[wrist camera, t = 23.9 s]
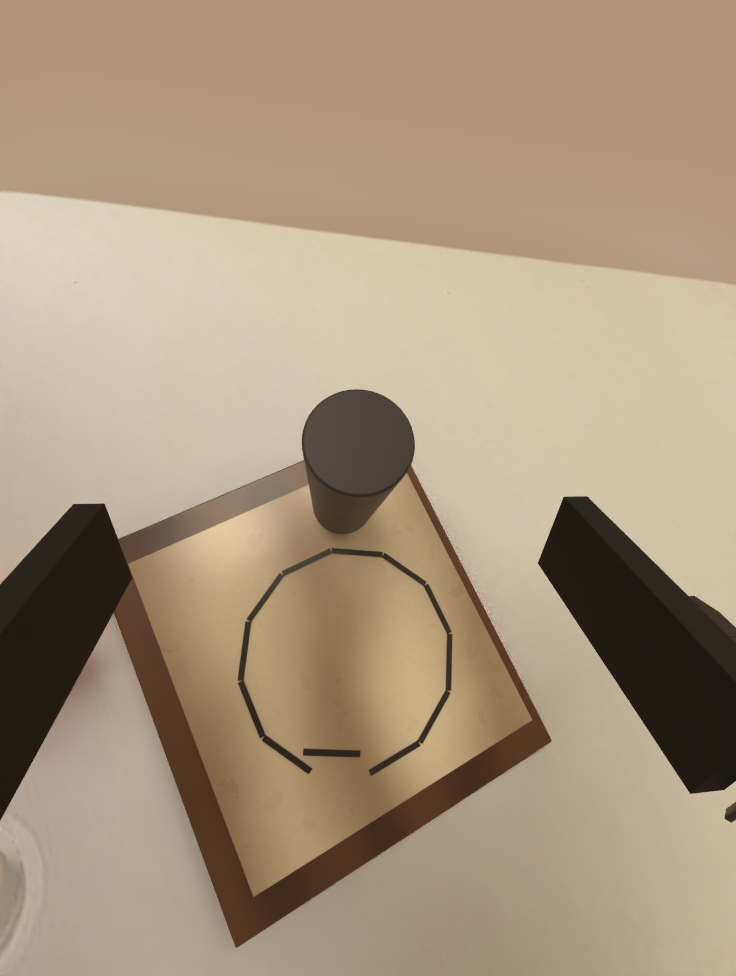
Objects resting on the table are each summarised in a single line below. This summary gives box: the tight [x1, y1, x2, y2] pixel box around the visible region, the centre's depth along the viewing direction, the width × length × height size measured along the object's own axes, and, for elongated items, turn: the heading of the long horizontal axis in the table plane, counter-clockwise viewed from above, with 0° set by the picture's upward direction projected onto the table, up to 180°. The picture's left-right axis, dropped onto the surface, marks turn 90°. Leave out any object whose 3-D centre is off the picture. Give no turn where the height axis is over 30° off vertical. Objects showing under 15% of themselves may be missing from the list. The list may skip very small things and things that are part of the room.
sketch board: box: [114, 461, 551, 948], centre depth 21 cm, size 18×20×1 cm
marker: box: [302, 389, 415, 534], centre depth 17 cm, size 3×3×12 cm
